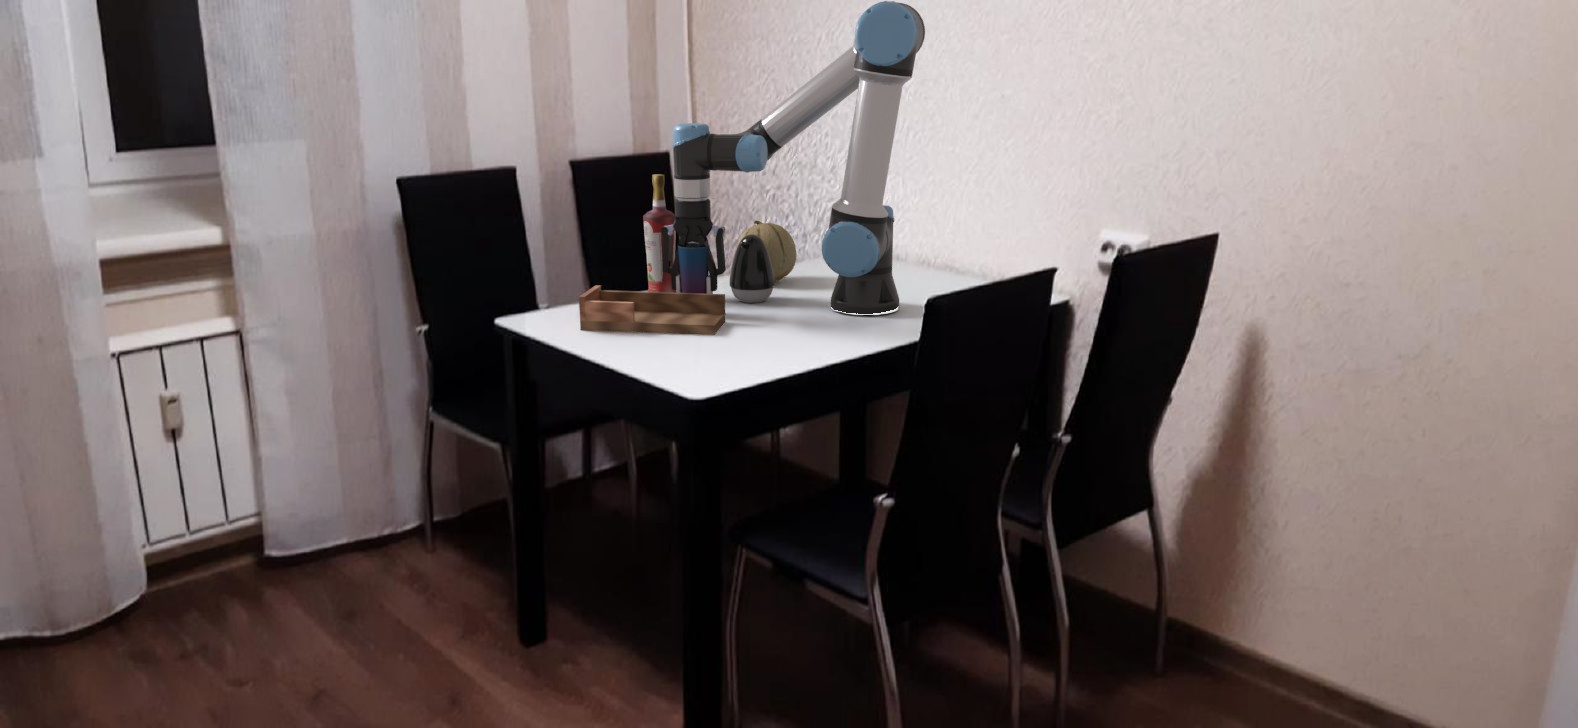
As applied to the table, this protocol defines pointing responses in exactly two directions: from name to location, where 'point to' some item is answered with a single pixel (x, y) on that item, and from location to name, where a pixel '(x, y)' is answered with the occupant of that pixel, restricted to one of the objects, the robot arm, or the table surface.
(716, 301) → the board
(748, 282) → the black egg-shaped device
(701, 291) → the cup
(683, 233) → the robot arm
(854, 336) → the table surface
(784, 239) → the cantaloupe
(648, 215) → the liquor
